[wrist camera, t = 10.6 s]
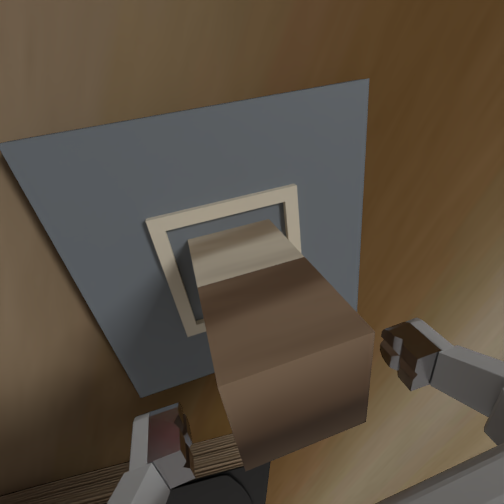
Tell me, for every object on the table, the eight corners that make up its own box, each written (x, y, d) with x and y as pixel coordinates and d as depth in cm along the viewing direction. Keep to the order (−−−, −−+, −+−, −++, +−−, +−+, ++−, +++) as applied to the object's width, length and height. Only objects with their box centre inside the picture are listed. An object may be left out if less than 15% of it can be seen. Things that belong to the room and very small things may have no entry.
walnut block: (197, 287, 12) (217, 387, 8) (304, 256, 13) (374, 331, 9) (220, 364, 15) (245, 471, 10) (309, 334, 15) (365, 421, 11)
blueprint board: (7, 141, 13) (-9, 145, 12) (358, 79, 16) (374, 77, 15) (141, 386, 22) (140, 402, 21) (349, 316, 25) (359, 327, 24)
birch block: (187, 239, 16) (197, 287, 12) (268, 218, 17) (304, 257, 13) (206, 305, 19) (220, 364, 15) (277, 284, 20) (309, 334, 15)
